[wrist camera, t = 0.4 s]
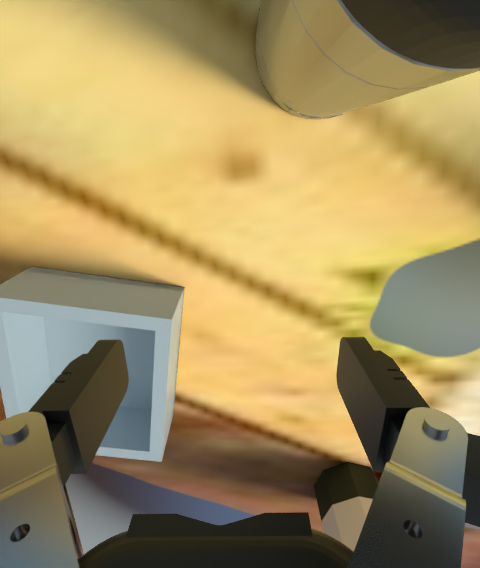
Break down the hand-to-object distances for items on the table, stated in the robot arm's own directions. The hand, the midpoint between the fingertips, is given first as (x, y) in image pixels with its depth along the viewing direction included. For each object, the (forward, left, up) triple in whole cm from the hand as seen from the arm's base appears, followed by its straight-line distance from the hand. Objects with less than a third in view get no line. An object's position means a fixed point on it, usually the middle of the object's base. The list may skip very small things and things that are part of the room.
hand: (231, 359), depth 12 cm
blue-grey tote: (+14, -11, -17) cm, 25 cm away
